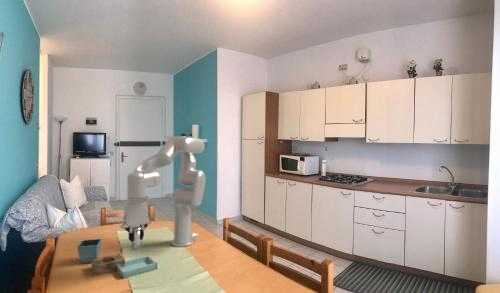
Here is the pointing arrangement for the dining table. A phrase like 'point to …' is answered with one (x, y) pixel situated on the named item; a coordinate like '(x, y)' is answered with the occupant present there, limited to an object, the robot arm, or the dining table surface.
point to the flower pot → (89, 250)
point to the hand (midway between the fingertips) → (136, 239)
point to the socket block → (107, 264)
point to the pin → (136, 238)
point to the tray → (137, 266)
